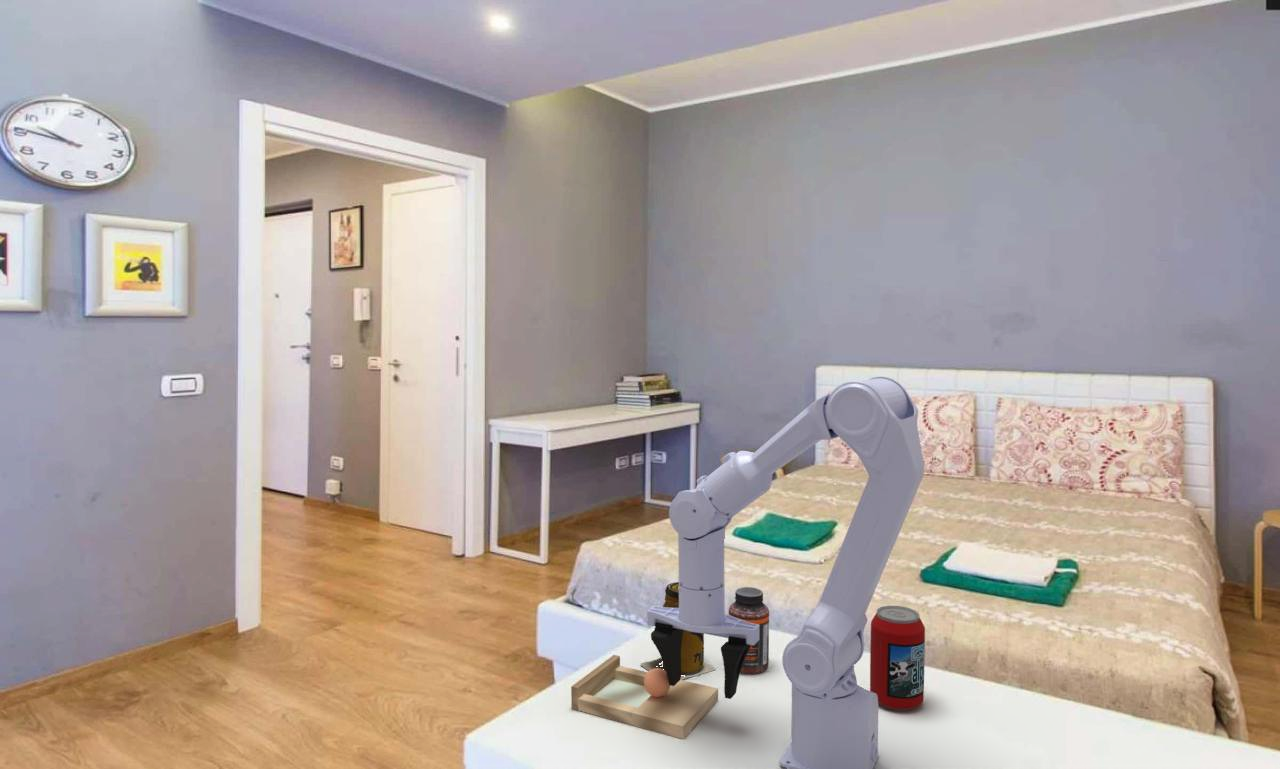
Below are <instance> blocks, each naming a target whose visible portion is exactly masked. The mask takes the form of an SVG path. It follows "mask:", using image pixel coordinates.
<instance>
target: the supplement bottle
mask: <svg viewBox="0 0 1280 769" xmlns="http://www.w3.org/2000/svg"><path fill="white" fill-rule="evenodd" d="M734 599H735V601H734V602H732V603H731V604H730V605H729V608H728V615H729V616H732V617H735V618H738V619H741V620H743V621H746V622H750V623H754V624H759V641H758V642H757V643H756V644H755V645H752V646H751V647H750V649H749V651H748V654H747V656H746V658H745V660H744V663H743V666H742V669H741V672H740V674H745V675H746V674H747V675H756V674H759V673H762V672H765V671H766V670H767V669H768V667H769V658H770V657H769V652H770V649H769V648H770V646H769V643H770V609H769V607H768V606H767V605H766V604H765V603H764V602H763V601H764V592H763V590H762V589H760V588H757V587H753V586H744V587H739V588H736V589H735V597H734Z"/></svg>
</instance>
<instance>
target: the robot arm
mask: <svg viewBox="0 0 1280 769" xmlns="http://www.w3.org/2000/svg"><path fill="white" fill-rule="evenodd" d="M918 416H919V409H918V407H917V405H916V404H915V402H914V401H913V399H912V397H911V395H909V392H908V390H906V388H905V387H904V386H903V384H901V383H900V382H899V381H897V380H895V379H894V378H891V377H888V376H875V377H871V378H869V379H865V380H864V379H863V380H848V381H845V382H842V383H840V384H839V385H837V386H836V387H835V388H834V389H833V390H832V391H831V392H830V393H827V394H825V395H823V396H821V397H819V398H817V399H816V400H814V401H813V402H812V403H810V404H809V405H808V406H807V407H806V408H804V410H802V411H801V412H800V413H798V415H797V416H796V417H794V418H793V419H792V420H791V421H790V422H788V423H787V424H786V425H785V426H783V428H781V429H780V430H779V431H778V432H776V434H774V435H773V436H772V437H771V438H770V439H769V440H767V441H766V442H765V443H764V444H763V445H762V446H760V447H759V448H758V449H757V450H756V451H755V452H753V451H747V450H739V451H738V452H737V453H736V452H735V451H732V452H729V453H727V454H725V455H724V456H723V457H722V458H721V460H722V461H723V463H722V464H721V465H720V466H719V467H718V468H716V469H714V470H713V472H711V473H710V474H709V475H706V474H705V475H701V476H700V477H699V478H697V479H696V483H697V485H696V487H695V488H694V489H693V488H692V489H686V490H682V491H679V492H678V493H677V494H676V496H675V497H674V498H673V499H672V501H671V503H670V506H669V509H668V510H669V511H668V512H669V513H668V517H669V521H670V524H671V526H672V528H673V529H674V531H675V532H676V533H677V538H678V541H677V542H678V544H677V545H678V546H677V548H678V582H679V608H667V607H663V606H658V605H657V606H655V605H654V606H652V607H650V608H649V609H648V610H647V611H646V614H647V615H646V617H647V618H646V619H647V620H646V622H647V623H646V624H647V626H651V627H654V630H653V631H652V632H651V633H650V638H651V641H652V642H653V644H654V645H655V647H656V649H657V651H658V653H659V655H660V658H662V660H663V663H664V666H665V670H666V673H667V677H668V681H669V685H671V686H674V685H675V684H677V683H678V682H679V681H680V679H681V645H682V636H683V630H687V631H691V632H697V633H703V634H704V635H709V636H715V637H719V638H724V639H727V641H726V642H725V643H724V644H722V645H721V646H720V651H721V652H720V653H721V657H722V662H723V670H724V681H723V682H724V683H723V685H724V686H723V689H724V690H723V691H724V698H725V699H729V700H730V699H732V698H733V697H734V696H735V694H736V693H737V688H738V683H739V678H740V675H741V673H740V672H741V669H742V666H743V663H744V660H745V658H746V656H747V654H748V651H749V649H750V647H751V646H752V645H755V644H756V643H757V642H758V641H759V624H754V623H750V622H746V621H743V620H741V619H738V618H735V617H732V616H729V614H726V612H725V611H726V610H725V604H726V603H725V599H726V598H725V597H726V596H725V595H726V594H725V591H726V590H725V588H726V587H725V539H726V529H727V527H728V525H729V524H730V523H731V521H732V520H733V517H735V516H736V515H738V514H739V513H740V512H741V511H743V510H744V509H745V508H747V507H748V506H749V505H751V504H752V503H753V502H755V501H756V500H758V499H759V498H761V496H763V495H765V494H766V493H767V492H768V491H769V490H771V487H772V481H773V480H772V479H773V474H774V473H776V472H777V471H779V470H780V469H781V468H783V467H784V466H785V465H787V464H788V463H790V462H791V461H793V460H794V459H795V458H797V457H798V456H800V455H801V454H803V453H804V452H806V451H807V450H809V449H810V448H812V447H813V446H814V445H816V444H818V443H819V442H820V441H822V440H823V441H825V440H833V439H836V438H840V439H841V440H842V442H844V443H845V444H846V445H847V446H848V447H849V448H850V449H851V450H852V451H853V452H854V453H855V454H856V455H857V456H858V457H859V459H860V461H861V463H862V465H863V467H864V469H865V470H866V472H867V474H868V479H867V481H866V483H865V487H864V489H863V490H862V494H861V496H860V499H859V500H858V504H857V505H856V509H855V511H854V513H853V516H852V519H851V521H850V523H849V526H848V528H847V530H846V533H845V536H844V538H843V540H842V544H841V546H840V548H839V550H838V551H839V552H838V553H837V556H836V558H835V561H834V563H833V565H832V568H831V571H830V574H829V576H828V578H827V581H826V584H825V586H824V588H823V591H822V593H821V596H820V598H819V600H818V603H817V604H816V605H815V607H814V608H813V610H812V611H811V613H810V614H809V616H808V617H807V618H806V620H805V621H804V623H803V626H802V628H801V631H800V632H799V633H798V634H797V636H796V637H795V638H793V639H792V640H790V641H789V642H788V643H787V644H786V646H785V648H784V649H783V652H782V667H783V670H784V674H785V676H786V677H787V678H788V680H789V681H790V683H791V720H790V721H791V722H790V723H791V726H790V727H791V731H790V733H791V736H790V738H791V739H790V740H791V742H790V744H789V745H788V747H787V748H786V750H785V751H784V753H783V755H782V756H781V758H780V759H779V766H781V767H783V768H787V769H874V767H875V764H876V762H877V760H878V757H879V753H880V752H879V749H878V748H879V745H878V744H879V702H878V697H877V694H876V693H874V692H871V691H870V690H868V689H866V688H864V687H862V686H860V685H858V681H857V676H856V671H855V665H856V664H857V663H858V662H859V661H861V659H862V657H863V654H864V651H865V640H864V639H865V638H864V631H865V627H866V625H867V623H868V618H867V615H866V613H867V610H868V609H869V608H868V607H869V605H870V603H871V600H872V598H873V596H874V594H875V592H876V589H877V587H878V584H879V581H880V580H881V578H882V574H883V573H884V570H885V568H886V565H887V564H888V563H887V562H888V561H889V558H890V555H891V554H892V551H893V548H894V546H895V545H896V541H897V540H898V536H899V535H900V532H901V529H902V527H903V525H904V522H905V520H906V518H907V515H908V513H909V511H910V508H911V506H912V504H913V501H914V499H915V497H916V494H917V492H918V489H919V487H920V485H921V482H922V480H923V477H924V473H925V463H924V458H923V457H924V456H923V452H922V444H921V439H920V434H919V427H918Z"/></svg>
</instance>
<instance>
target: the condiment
mask: <svg viewBox="0 0 1280 769" xmlns="http://www.w3.org/2000/svg"><path fill="white" fill-rule="evenodd" d="M664 592H665V596H664V600H665V601H664V603H663V605H662V607H667V608H679V581H676V582H671V583H669V584H667V585H666V587H665V590H664ZM704 646H705V634H703V633H697V632H691V631H687V630H683V636H682V645H681V675H685V677H684V676H681V679H680V680H685V679H688V678H693V677H697V676H699V675H703V674H706V673H708V672H712V671H714V670H716V669H717V668H716V667H714V666H712V665H710V664H708V663H706V662H704V661H705V658H704V657H705V647H704ZM662 661H663V660H662V658H661V657H660V658H657V659H653V660H650V661H645V662H642V663H640V666H642V667H643V668H644V669H646V671H648V672H649V671H650V670H652V669H655V668H660V669H664V670H665V666H664V663H663V667H660V666H662V664H661V665H659V663H661V662H662ZM656 666H658V667H656ZM665 671H666V670H665Z"/></svg>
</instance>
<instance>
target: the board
mask: <svg viewBox="0 0 1280 769" xmlns="http://www.w3.org/2000/svg"><path fill="white" fill-rule="evenodd" d="M648 672H649V671H644V670H639V669H636V668H632V667H628V666H627V667H626V666H622V665H621V656H620V655H617V654H613V655H612V656H610V657H609V658H608V659H606V660H605V661H604V662H602V663H601V664H599V665H598V666H597V667H595V668H594V669H592V670H591V671H590V672H589V673H588V674H586V675H585V676H583V677H582V678H581V679H579V680H578V681H577V682H575V683H574V684H573V685H572V686H571V691H570V693H571V699H570V700H571V710H574V711H578V712H581V711H582V713H585V712H586V714H589V713H590V714H589V715H592V714H593V716H596V717H600V718H604V719H607V720H611V719H612V720H611V721H614V722H615V721H616V722H618V721H619V722H618V723H622V722H623V723H622V724H626V725H631V726H632V727H633V726H634V727H638V728H640V729H641V728H642V729H644V730H648V731H652V732H656V733H659V734H663V735H667V736H671V737H675V738H678V739H682V740H684V739H685V738H686V737H687V736H688V734H689V733H690V732H692V730H693V729H694V728H695V727H696V726H697V724H698V723H699V722H700V721H701V720H702V719H703V717H704V716H705V715H706V714H707V713H708V712H709V711H710V710H711V709H712V708H713V706H714V705H715V704H716V703H717V702H718V701H719V688H717V687H713V686H710V685H704V684H701V683H696V682H692V681H687V680H685V679H682V680H680V681H679V682H678V683H677V684H675V685H674V686H670V689H669V691H668V692H667V693H666V694H665V695H664V696H661V697H654V696H651V695H650V694H649V693H648V692H647V691H646V689H645V687H644V678H645V676H646V674H647V673H648Z"/></svg>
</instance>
